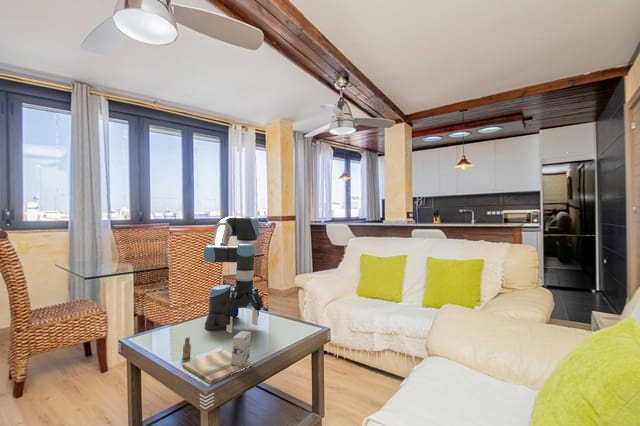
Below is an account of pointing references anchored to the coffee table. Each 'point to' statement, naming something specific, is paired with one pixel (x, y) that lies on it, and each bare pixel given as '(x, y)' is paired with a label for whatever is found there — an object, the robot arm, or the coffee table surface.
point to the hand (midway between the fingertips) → (242, 328)
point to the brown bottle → (186, 349)
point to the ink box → (241, 348)
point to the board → (214, 366)
